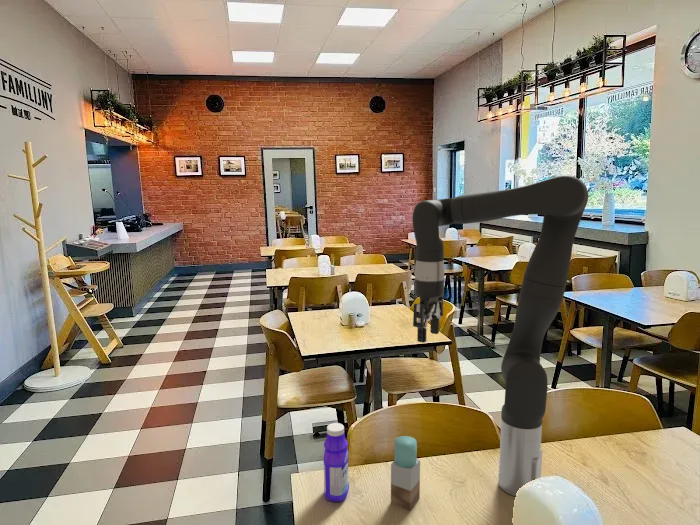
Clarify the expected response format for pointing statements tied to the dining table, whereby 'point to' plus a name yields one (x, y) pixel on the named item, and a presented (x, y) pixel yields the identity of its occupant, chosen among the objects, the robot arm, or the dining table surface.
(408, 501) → the base block
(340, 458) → the bottle
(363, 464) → the dining table surface
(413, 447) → the teal rounded cylinder
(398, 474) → the mid block
